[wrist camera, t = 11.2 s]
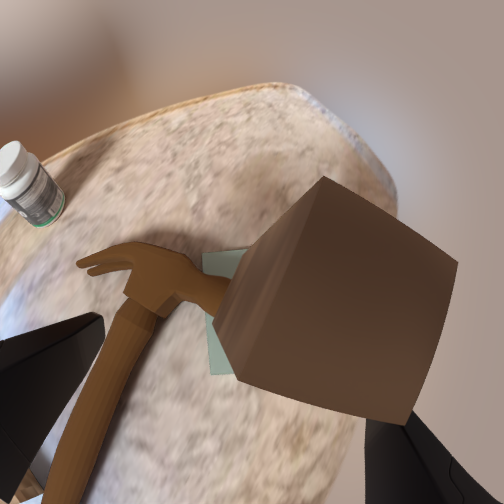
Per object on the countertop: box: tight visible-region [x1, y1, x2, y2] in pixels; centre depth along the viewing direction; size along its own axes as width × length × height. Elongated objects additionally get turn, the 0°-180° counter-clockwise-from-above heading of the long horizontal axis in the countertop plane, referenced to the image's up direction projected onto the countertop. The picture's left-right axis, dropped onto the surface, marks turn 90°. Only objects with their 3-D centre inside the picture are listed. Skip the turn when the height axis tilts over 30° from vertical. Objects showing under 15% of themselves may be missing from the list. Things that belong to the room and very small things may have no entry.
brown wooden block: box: [212, 176, 458, 426], centre depth 12 cm, size 4×4×12 cm
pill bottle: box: [0, 141, 65, 228], centre depth 20 cm, size 5×5×8 cm
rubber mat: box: [202, 249, 248, 375], centre depth 21 cm, size 9×7×1 cm
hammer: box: [41, 242, 231, 504], centre depth 15 cm, size 12×3×30 cm
